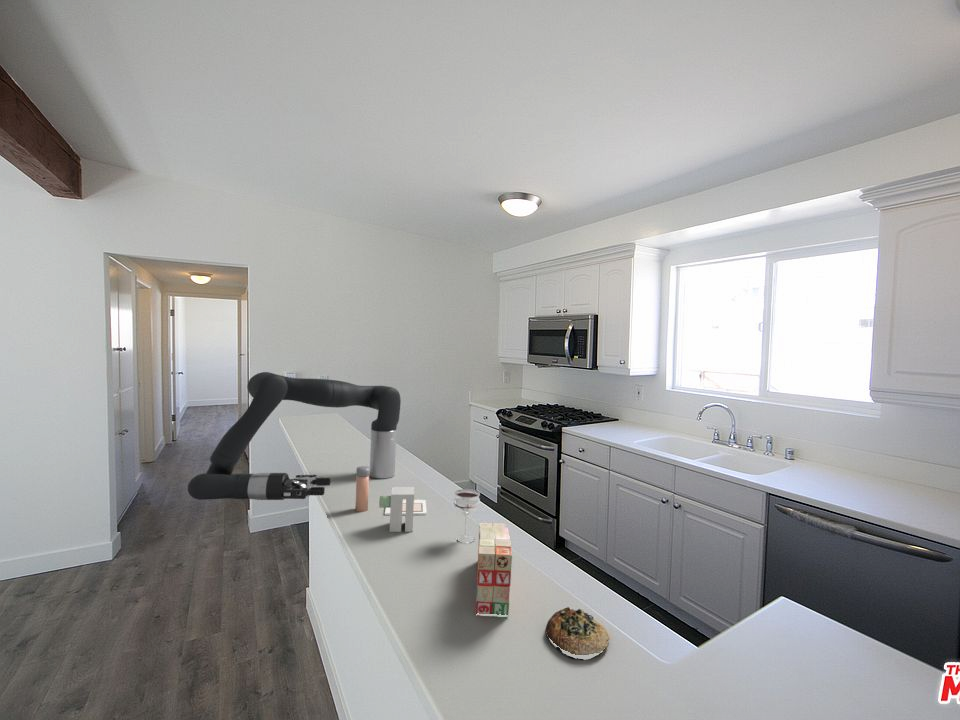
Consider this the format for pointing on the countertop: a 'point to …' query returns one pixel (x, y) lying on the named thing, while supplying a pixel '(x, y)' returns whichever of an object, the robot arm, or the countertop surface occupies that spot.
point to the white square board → (418, 509)
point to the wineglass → (466, 508)
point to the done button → (385, 502)
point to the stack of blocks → (493, 569)
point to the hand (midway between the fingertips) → (327, 486)
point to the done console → (396, 508)
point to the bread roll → (577, 632)
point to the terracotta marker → (362, 488)
